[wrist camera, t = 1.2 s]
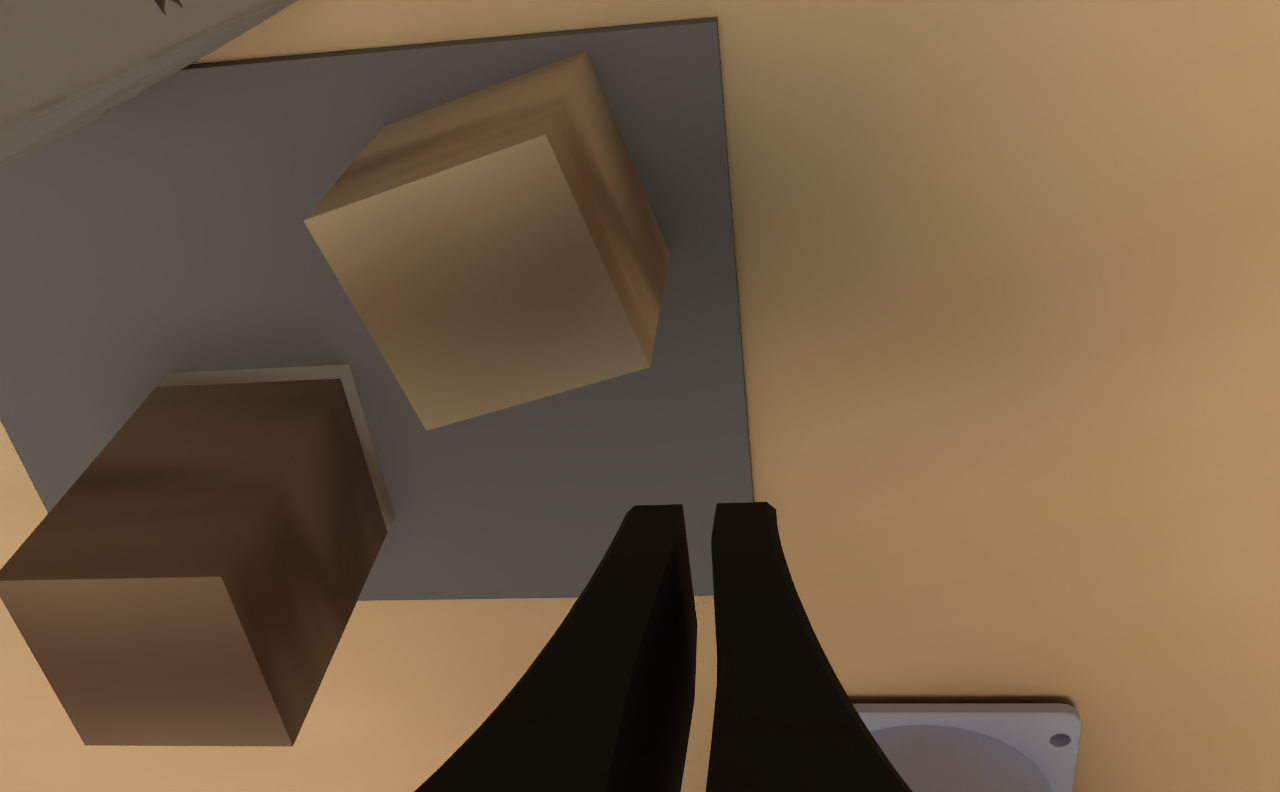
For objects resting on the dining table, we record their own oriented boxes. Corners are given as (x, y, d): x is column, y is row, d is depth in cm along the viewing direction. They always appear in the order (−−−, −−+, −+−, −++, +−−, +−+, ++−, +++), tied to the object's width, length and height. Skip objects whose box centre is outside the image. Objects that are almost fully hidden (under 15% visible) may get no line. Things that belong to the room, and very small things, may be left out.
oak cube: (669, 253, 23) (649, 367, 19) (479, 313, 24) (426, 430, 20) (586, 50, 21) (545, 134, 17) (381, 127, 22) (303, 220, 18)
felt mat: (760, 586, 28) (760, 594, 28) (100, 597, 31) (94, 604, 30) (717, 17, 20) (716, 21, 20) (-154, 96, 23) (-164, 101, 23)
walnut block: (395, 515, 27) (292, 746, 22) (227, 520, 28) (85, 745, 22) (349, 364, 25) (221, 577, 19) (168, 372, 26) (-10, 580, 20)
